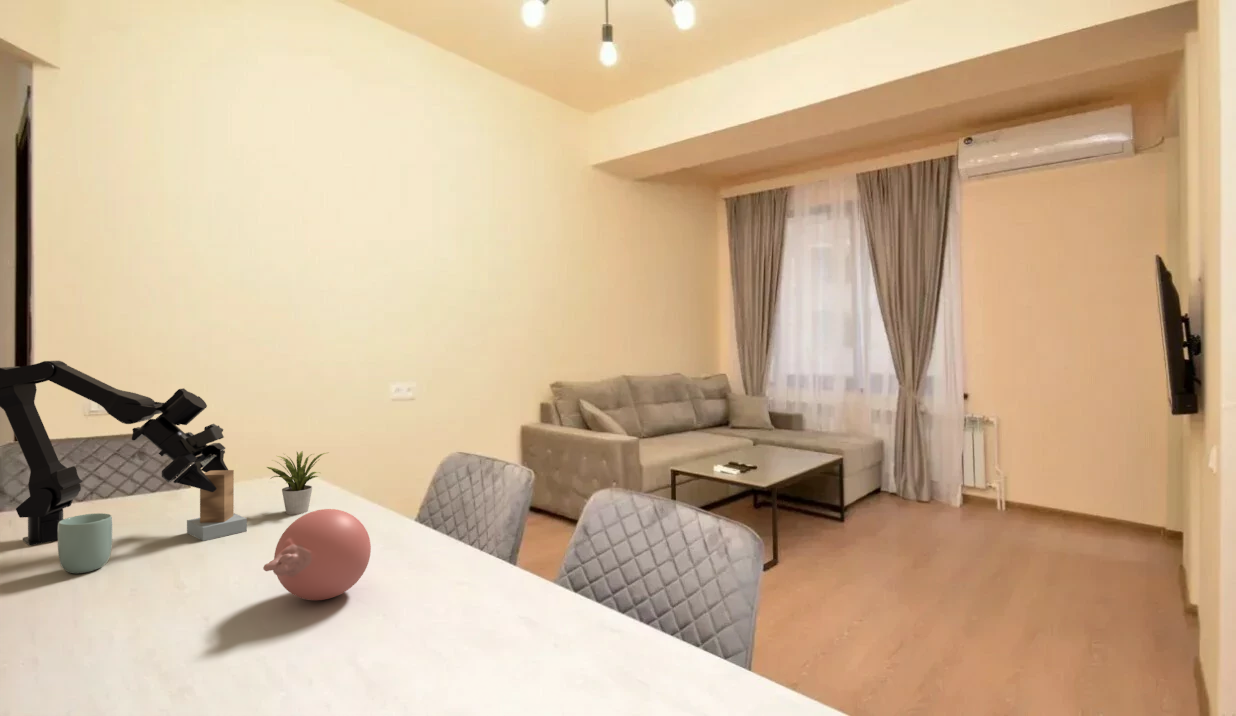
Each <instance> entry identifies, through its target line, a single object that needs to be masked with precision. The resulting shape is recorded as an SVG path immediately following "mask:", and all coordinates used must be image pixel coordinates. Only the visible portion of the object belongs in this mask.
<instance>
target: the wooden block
mask: <svg viewBox="0 0 1236 716" xmlns="http://www.w3.org/2000/svg"><path fill="white" fill-rule="evenodd" d="M203 473H204V474H205V475H206V476H207V477H208V479H209V480H210V481H211V482H212V483H213V484H214V485H215V487H216V488H217V489H216V490H215V491H214V492H210V491H206V490H203V489H199V503H200V504H199V518H200V523H213V522H225V521H227V520H228V519H230V518H231V517H233V516H234V514H235V513H234V510H235V507H234V504H235V503H234V501H235V500H234V490H235V488H234V486H235V485H234V478H235V477H234V474H235V473H234V469H228V470H214V471H208V472H203Z"/></svg>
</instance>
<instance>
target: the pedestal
mask: <svg viewBox="0 0 1236 716" xmlns="http://www.w3.org/2000/svg"><path fill="white" fill-rule="evenodd" d="M247 523H248V518H247V517H244V516H241V515H240V514H236V513H234V516H233V517H231V518H230V519H228V520H227V521H225V522H213V523H200V517H197V518H192V519H187V520H186V533H187V534H188V535H190V536H192V537H194V538H196V539H199V540H201V541H203V542H205V541H210V540H213V539H218V538H222V537H227V536H231V535H235V534H239V533H244V532H247V530H248V525H247Z"/></svg>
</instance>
